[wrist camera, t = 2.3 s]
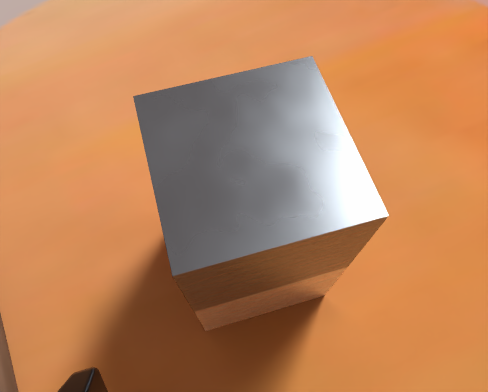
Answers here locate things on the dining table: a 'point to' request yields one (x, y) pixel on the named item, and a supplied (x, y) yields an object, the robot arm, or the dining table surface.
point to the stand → (6, 365)
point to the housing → (256, 189)
